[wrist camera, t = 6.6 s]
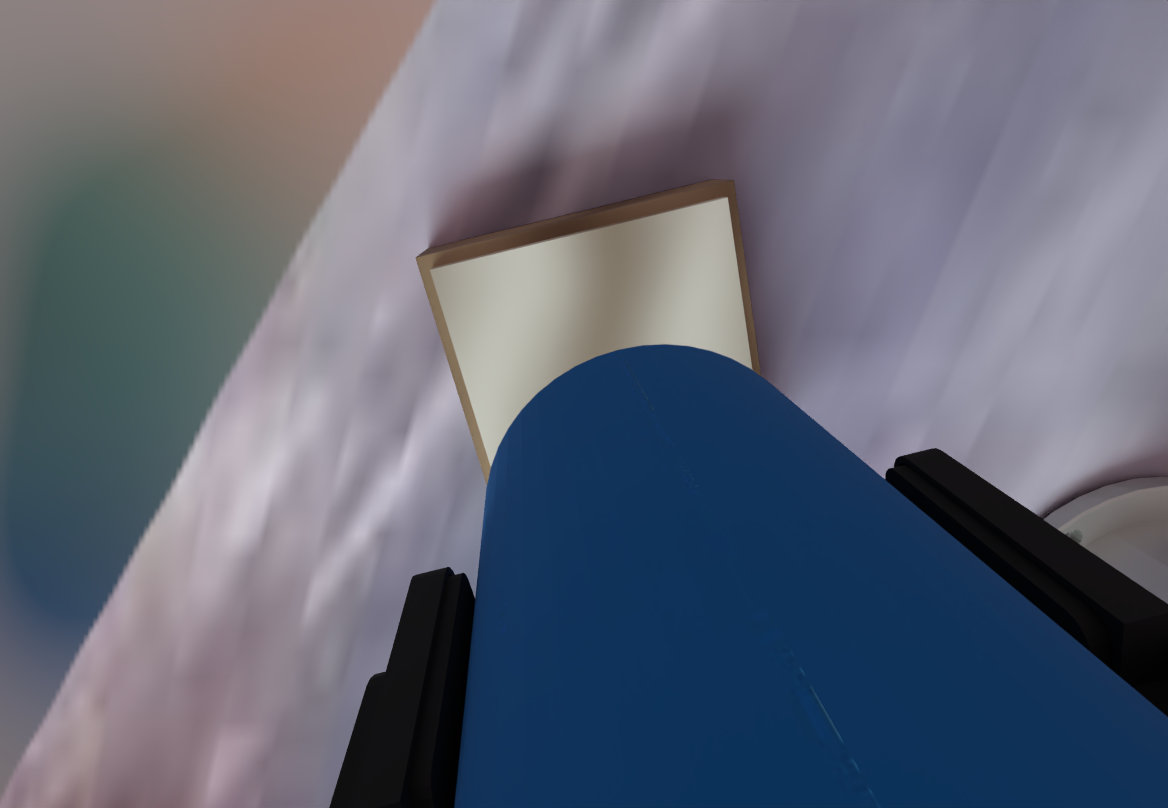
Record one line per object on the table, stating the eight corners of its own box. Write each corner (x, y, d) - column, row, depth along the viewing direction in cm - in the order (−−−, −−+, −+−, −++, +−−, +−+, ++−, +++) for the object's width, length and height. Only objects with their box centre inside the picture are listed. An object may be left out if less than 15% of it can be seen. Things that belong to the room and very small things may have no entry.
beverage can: (453, 584, 14) (175, 2341, 3) (537, 292, 12) (819, 2093, 1) (730, 639, 15) (1353, 2013, 4) (846, 383, 13) (2745, 1605, 2)
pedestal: (712, 179, 22) (738, 180, 19) (751, 441, 26) (778, 474, 23) (427, 248, 22) (412, 259, 19) (504, 500, 26) (501, 541, 23)
